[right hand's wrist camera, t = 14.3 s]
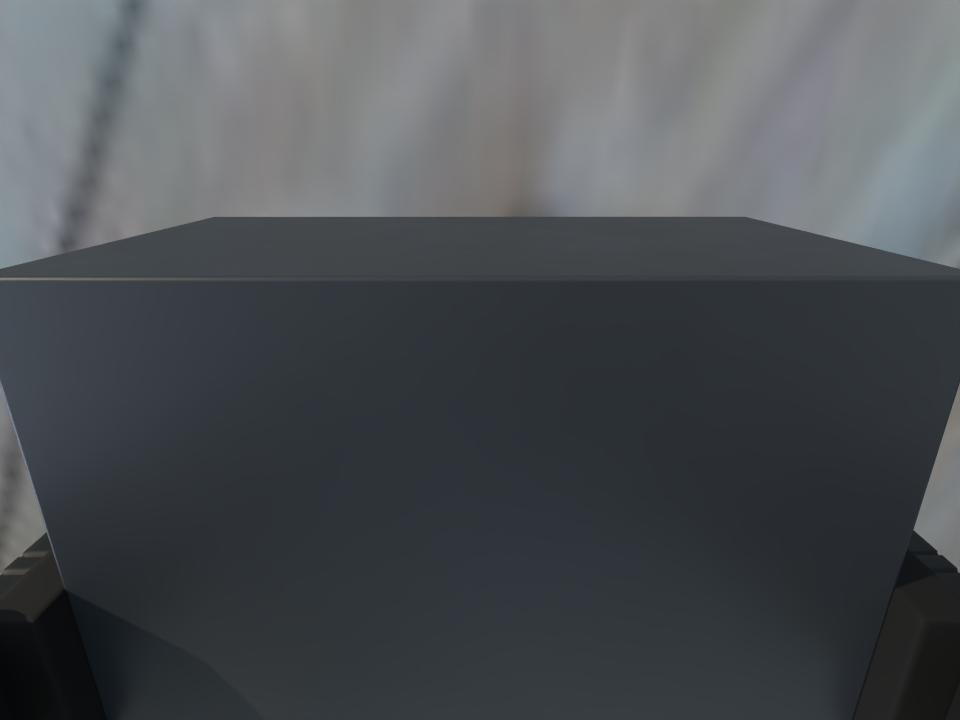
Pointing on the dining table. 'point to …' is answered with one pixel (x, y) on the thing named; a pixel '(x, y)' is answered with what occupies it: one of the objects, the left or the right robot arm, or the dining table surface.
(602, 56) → the dining table surface
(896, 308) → the dark gray block
